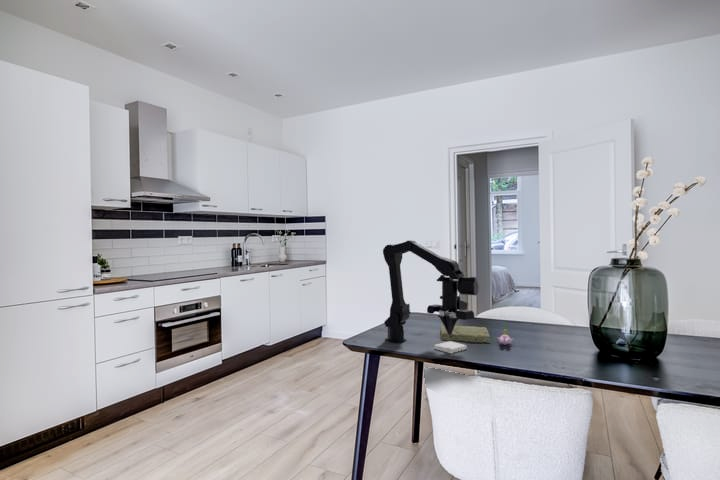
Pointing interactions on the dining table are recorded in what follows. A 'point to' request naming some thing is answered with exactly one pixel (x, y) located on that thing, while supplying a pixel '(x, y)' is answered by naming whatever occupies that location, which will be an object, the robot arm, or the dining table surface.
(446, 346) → the standing tile
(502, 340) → the pink bulbous piece
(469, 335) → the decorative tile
